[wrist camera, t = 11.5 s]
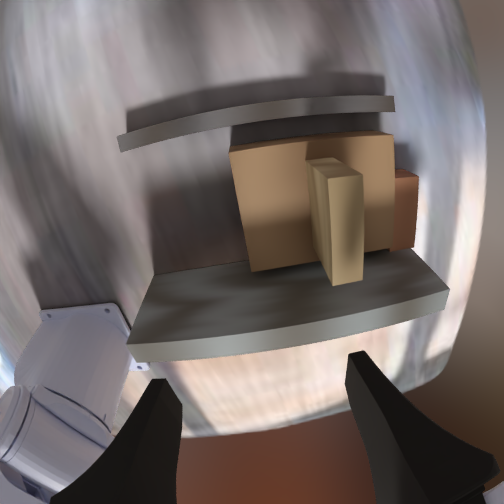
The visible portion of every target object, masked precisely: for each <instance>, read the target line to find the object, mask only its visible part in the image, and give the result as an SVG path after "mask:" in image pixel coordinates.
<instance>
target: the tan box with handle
mask: <svg viewBox="0 0 504 504" xmlns="http://www.w3.org/2000/svg"><path fill="white" fill-rule="evenodd" d="M229 158H230V163H231V168H232V173H233V179H234V184H235V189H236V194H237V200H238V205H239V210H240V215H241V220H242V226H243V231H244V236H245V241H246V246H247V252H248V257H249V262H250V267H251V272H256V271H262V270H268V269H274V268H280V267H286V266H292V265H297V264H303V263H309V262H315V261H321V263H322V265H323V267H324V269H325V271H326V273H327V276H328V278H329V280H330V282H331V284H332V286H335V285H340V284H346V283H351V282H356V281H360V280H363V259H364V253H365V252H370V251H376V250H381V249H386V248H392V247H393V232H394V209H395V160H394V138H393V135H391V134H387V133H383V132H378V131H374V130H369V131H350V132H336V133H325V134H314V135H305V136H296V137H288V138H280V139H273V140H266V141H259V142H253V143H247V144H241V145H235V146H230V149H229Z"/></svg>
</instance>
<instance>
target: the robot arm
mask: <svg viewBox="0 0 504 504" xmlns="http://www.w3.org/2000/svg"><path fill="white" fill-rule="evenodd" d="M106 308H107V309H109V310H107V309H106ZM39 316H40V318H41V319H42V321H43V322H42V323H41V325H40V326H39V328H38V329H37V331H36V332H35V334H34V335H33V337H32V338H31V340H30V341H29V343H28V345H27V346H26V348H25V349H24V351H23V353H22V354H21V356H20V358H19V359H18V362H17V364H16V367H15V373H14V382H15V386H12V387H10V388H8V389H7V390H6V392H5V393H4V394H3V395H2V397H1V398H0V504H177V503H176V502H177V501H176V471H177V462H178V455H179V447H180V440H181V432H182V404H181V402H180V401H179V399H178V397H177V396H176V394H175V393H174V391H173V390H172V388H171V386H170V385H169V383H168V381H167V380H166V378H165V379H152V380H151V381H150V383H149V385H148V386H147V388H146V390H145V391H144V393H143V395H142V396H141V398H140V400H139V401H138V403H137V405H136V406H135V408H134V410H133V411H132V413H131V415H130V416H129V418H128V419H127V421H126V422H125V424H124V425H123V427H122V428H121V430H120V431H119V433H118V434H117V435H116V437H113V436H112V435H111V430H112V427H113V423H114V419H115V416H116V412H117V408H118V405H119V401H120V398H121V394H122V391H123V388H124V384H125V381H126V378H127V375H128V372H129V371H147V370H149V368H150V364H149V363H148V362H147V363H136V361H135V359H134V358H133V356H132V355H131V353H130V351H129V350H128V348H127V346H126V342H127V340H128V337H129V335H130V332H131V331H130V329H129V327H128V325H127V323H126V321H125V319H124V317H123V315H122V313H121V311H120V309H119V307H118V306H117V305H116V304H114V303H105V304H97V305H87V306H78V307H68V308H58V309H47V310H41V311H40V312H39ZM345 386H346V391H347V395H348V399H349V403H350V407H351V409H352V412H353V415H354V418H355V420H356V423H357V426H358V429H359V431H360V434H361V437H362V439H363V442H364V445H365V448H366V451H367V455H368V458H369V463H370V468H371V473H372V478H373V483H374V489H375V495H376V501H377V504H504V481H503V482H502V483H500V484H499V485H498V486H496V487H494V488H493V489H491V490H489V491H487V492H485V493H482V492H483V491H484V490H485V487H484V485H483V484H485V483H486V482H488V481H489V480H491V479H492V478H494V477H495V476H496V475H498V474H499V473H500V469H499V466H498V464H497V461H496V459H495V458H494V456H493V455H492V454H490V453H488V452H486V451H483V450H481V449H478V448H476V447H474V446H472V445H470V444H468V443H466V442H465V441H463V440H461V439H459V438H457V437H456V436H454V435H453V434H451V433H450V432H448V431H446V430H445V429H443V428H442V427H440V426H439V425H438V424H436V423H435V422H434V421H432V420H431V419H430V418H428V417H427V416H426V415H425V414H423V413H422V412H421V411H420V410H419V409H418V408H416V407H415V406H414V405H413V404H412V403H411V402H410V401H409V400H408V399H407V398H406V397H405V396H404V395H403V394H402V393H401V392H400V391H399V390H398V389H397V388H396V387H395V386H394V385H393V384H392V383H391V382H390V381H389V379H388V378H387V377H386V376H385V375H384V374H383V373H382V372H381V370H380V369H379V368H378V367H377V366H376V364H375V363H374V362H373V361H372V359H371V358H370V357H369V356H368V354H367V353H366V352H365V351H359V352H355V353H350V354H348V363H347V371H346V379H345Z"/></svg>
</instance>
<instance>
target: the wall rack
mask: <svg viewBox="0 0 504 504" xmlns="http://www.w3.org/2000/svg"><path fill="white" fill-rule="evenodd" d="M353 112H395V105H394V96H379V95H352V96H325V97H310V98H298V99H287V100H278V101H270V102H262V103H255V104H249V105H242V106H236V107H230V108H225V109H220V110H214V111H209V112H205V113H200V114H195V115H191V116H187V117H182V118H178V119H174V120H170V121H167V122H163V123H159V124H155V125H152V126H148V127H145V128H142V129H138V130H135V131H132V132H129V133H126V134H122V135H119V136H117V139H118V144H119V148H120V152H124V151H128V150H131V149H134V148H138V147H141V146H145V145H148V144H152V143H156V142H159V141H163V140H167V139H171V138H175V137H179V136H184V135H188V134H192V133H197V132H201V131H206V130H211V129H216V128H221V127H227V126H232V125H238V124H244V123H250V122H257V121H264V120H271V119H279V118H287V117H296V116H307V115H318V114H333V113H353ZM418 185H419V176H417V175H415V174H413V173H411V172H409V171H406V170H404V169H396V170H395V209H394V232H393V247H392V248H386V249H381V250H376V251H370V252H365V253H364V259H363V280H360V281H356V282H351V283H346V284H340V285H335V286H332V284H331V282H330V280H329V278H328V276H327V273H326V271H325V269H324V267H323V265H322V263H321V261H315V262H309V263H303V264H297V265H292V266H286V267H280V268H274V269H268V270H262V271H256V272H251V267H250V262H249V260H248V261H242V262H236V263H229V264H223V265H217V266H210V267H204V268H198V269H191V270H185V271H179V272H172V273H166V274H159V275H154V276H153V279H152V281H151V283H150V286H149V288H148V290H147V293H146V295H145V297H144V300H143V302H142V305H141V307H140V309H139V312H138V314H137V317H136V319H135V322H134V324H133V327H132V329H131V332H130V335H129V337H128V340H127V342H126V346H127V348H128V350H129V351H130V353H131V355H132V356H133V358H134V359H135V361H136V363H147V362H167V361H182V360H195V359H206V358H216V357H225V356H234V355H242V354H250V353H257V352H264V351H271V350H277V349H283V348H289V347H295V346H301V345H306V344H312V343H317V342H322V341H327V340H332V339H336V338H341V337H346V336H350V335H354V334H359V333H363V332H367V331H371V330H375V329H379V328H383V327H387V326H390V325H394V324H398V323H401V322H405V321H408V320H412V319H415V318H419V317H422V316H425V315H429V314H432V313H435V312H438V311H441V310H444V309H445V305H446V302H447V298H448V294H449V291H450V288H449V287H448V286H447V285H446V284H445V283H444V282H443V281H442V280H441V279H440V278H439V277H438V275H437V274H436V273H435V272H434V271H433V270H432V269H431V268H430V267H429V266H428V265H427V264H426V263H425V262H424V261H423V260H422V259H421V258H420V257H419V256H418V255H417V254H416V253H415V252H414V251H413V250H412V249H411V248H413V247H414V243H415V233H416V221H417V207H418Z"/></svg>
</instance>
